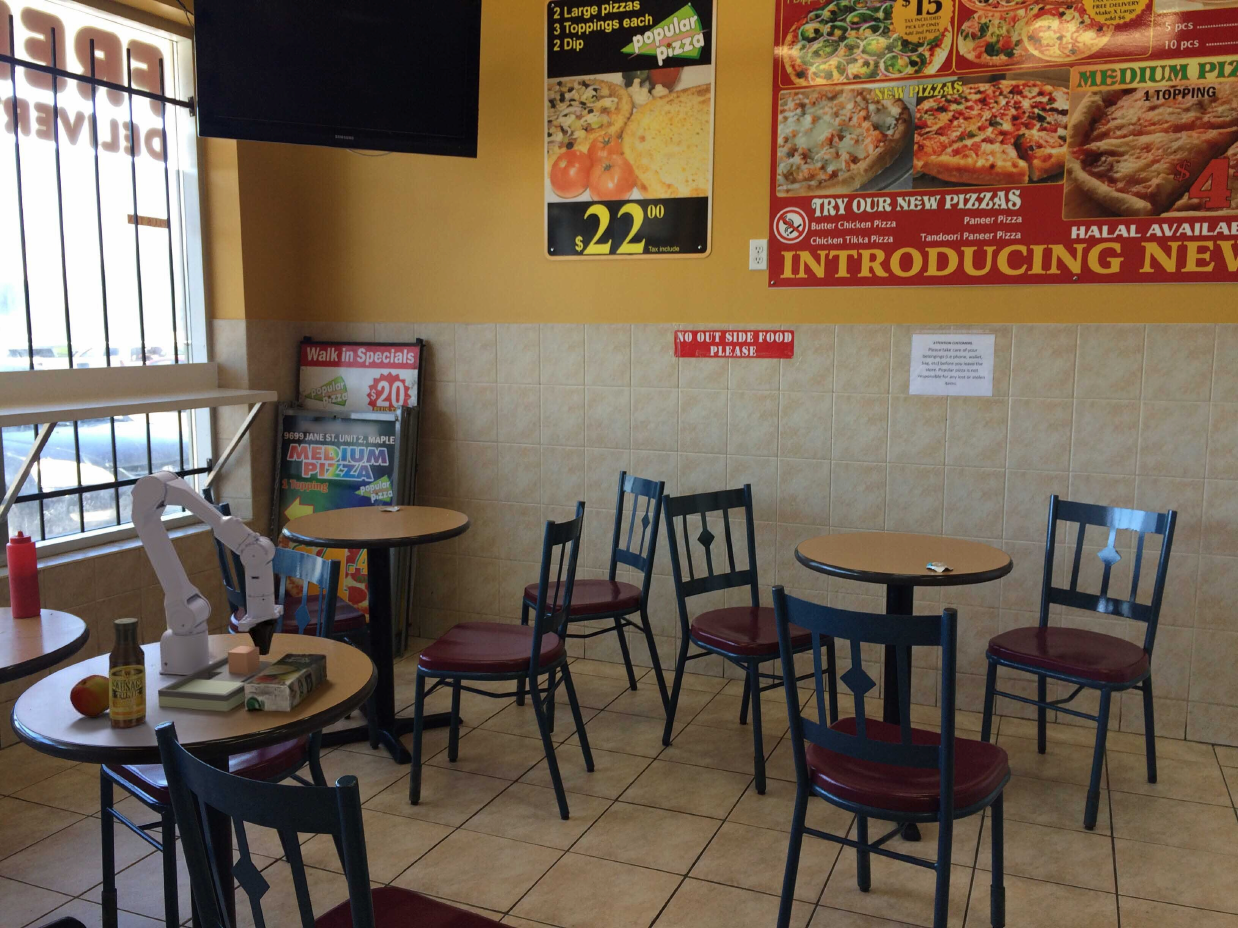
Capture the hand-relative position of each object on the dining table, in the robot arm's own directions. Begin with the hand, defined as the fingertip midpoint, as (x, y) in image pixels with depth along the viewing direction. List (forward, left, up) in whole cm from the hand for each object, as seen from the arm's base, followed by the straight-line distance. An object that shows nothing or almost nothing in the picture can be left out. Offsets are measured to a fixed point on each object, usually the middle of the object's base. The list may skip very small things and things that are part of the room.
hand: (263, 654), depth 218 cm
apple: (-16, -32, -3) cm, 36 cm away
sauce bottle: (-7, -34, -3) cm, 35 cm away
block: (0, -7, -1) cm, 7 cm away
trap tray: (0, -13, -3) cm, 13 cm away
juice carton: (+14, -14, -4) cm, 20 cm away
